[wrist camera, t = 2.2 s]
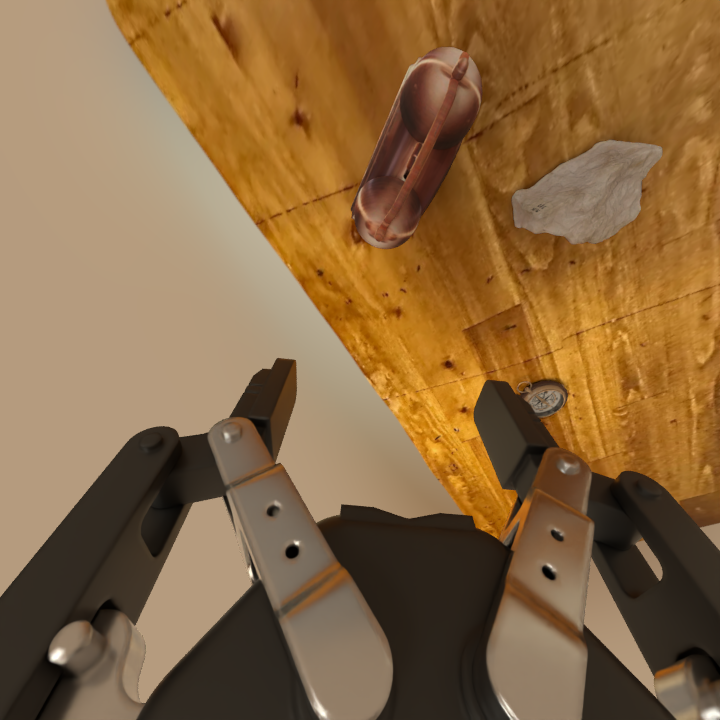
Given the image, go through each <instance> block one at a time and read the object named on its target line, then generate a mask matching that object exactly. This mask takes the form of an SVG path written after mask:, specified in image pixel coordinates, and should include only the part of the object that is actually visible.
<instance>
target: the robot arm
mask: <svg viewBox="0 0 720 720" xmlns="http://www.w3.org/2000/svg"><path fill="white" fill-rule="evenodd" d="M296 378H297V377H296V360H292V359H281V358H277V359H276V361H275V363H274V365H273V367H272V369H262V370H260V371H259V372H258V373H256V374H255V375H254V376H253V378H252V379H251V381H250V383H249V386H247V388H246V389H245V393H243V395H242V397H241V398H240V400H239V402H238V403H237V405H236V407H235V408H234V410H233V412H232V414H231V415H230V417H229V418H227V419H225V420H222V421H220V422H218V423H217V424H215V425H214V426H213V427H212V428H211V430H210V431H209V432H208V433H204V434H200V435H193V436H186V437H179V435H178V433H177V431H176V430H175V429H173V428H170V427H165V426H163V427H162V426H161V427H153V428H150V429H146V430H144V431H142V432H140V433H138V434H136V435H135V436H133V437H132V438H131V439H130V440H129V441H128V442H127V443H126V444H125V446H124V447H123V448H122V449H121V450H120V452H119V453H118V454H117V455H116V456H115V458H114V459H113V460H112V461H111V463H110V464H109V465H108V466H107V467H106V469H105V470H104V471H103V472H102V474H101V475H100V476H99V477H98V479H97V480H96V481H95V482H94V483H93V485H92V486H91V487H90V488H89V489H88V491H87V492H86V493H85V494H84V496H83V497H82V498H81V499H80V500H79V502H78V503H77V504H76V505H75V506H74V508H73V509H72V510H71V511H70V513H69V514H68V515H67V516H66V518H65V519H64V520H63V521H62V522H61V524H60V525H59V526H58V527H57V528H56V530H55V531H54V532H53V533H52V535H51V536H50V537H49V538H48V540H47V541H46V542H45V543H44V544H43V546H42V547H41V548H40V549H39V550H38V552H37V553H36V554H35V555H34V557H33V558H32V559H31V560H30V562H29V563H28V564H27V565H26V567H25V568H24V569H23V570H22V571H21V572H20V574H19V575H18V576H17V578H16V579H15V580H14V581H13V582H12V584H11V585H10V586H9V587H8V589H7V590H6V591H5V592H4V593H3V595H2V596H1V597H0V720H720V551H719V550H718V548H717V547H716V546H715V545H714V544H713V543H712V542H711V540H710V539H709V538H708V537H707V536H706V535H705V533H704V532H703V531H702V530H701V529H700V528H699V527H698V525H697V524H696V523H695V522H694V521H693V520H692V519H691V517H690V516H689V515H688V514H687V513H686V512H685V511H684V509H683V508H682V507H681V506H680V505H679V504H678V503H677V501H676V500H675V499H674V498H673V497H672V496H671V494H670V493H669V492H668V491H667V490H666V489H665V488H664V487H662V486H661V485H660V484H659V483H657V482H656V481H654V480H652V479H651V478H649V477H647V476H645V475H643V474H640V473H637V472H633V471H624V472H622V473H621V474H620V475H619V476H618V477H617V478H616V479H612V478H609V477H606V476H603V475H600V474H597V473H594V472H591V470H590V468H589V466H588V465H587V464H586V463H585V462H584V461H583V460H582V459H581V458H580V457H578V456H577V455H575V454H574V453H572V452H570V451H568V450H565V449H562V448H559V446H558V445H557V443H556V442H555V441H554V439H553V438H552V436H551V435H550V433H549V432H548V430H547V429H546V427H545V426H544V425H543V423H542V422H540V421H541V420H540V419H539V417H538V416H537V415H536V414H535V411H534V410H533V409H532V407H531V406H530V404H529V403H528V402H527V401H525V400H524V399H523V398H522V397H521V396H519V395H516V394H515V393H514V391H513V390H512V388H511V386H510V385H509V384H508V383H507V382H505V381H495V380H487V381H486V382H485V384H484V386H483V388H482V391H481V393H480V396H479V398H478V401H477V403H476V406H475V409H474V421H475V424H476V426H477V429H478V431H479V434H480V436H481V438H482V441H483V443H484V446H485V448H486V450H487V453H488V455H489V458H490V460H491V462H492V465H493V467H494V470H495V472H496V474H497V477H498V479H499V482H500V484H501V486H502V489H509V490H516V492H517V494H518V495H517V497H516V498H515V500H514V502H513V505H512V507H511V510H510V512H509V515H508V517H507V520H506V523H505V525H504V528H503V530H502V533H501V535H500V538H499V540H498V539H496V538H495V537H493V536H492V535H490V534H488V533H487V532H485V531H482V530H480V529H478V528H476V527H475V524H474V521H473V517H472V516H467V515H455V514H444V513H439V514H433V515H427V516H422V517H417V518H411V519H408V518H404V517H401V516H397V515H395V514H392V513H389V512H386V511H383V510H380V509H377V508H374V507H364V506H353V505H341V513H340V515H336V516H333V517H329V518H326V519H323V520H321V521H319V522H317V523H316V522H315V521H314V519H313V517H312V515H311V514H310V512H309V510H308V508H307V507H306V505H305V503H304V502H303V500H302V498H301V496H300V494H299V493H298V491H297V489H296V487H295V486H294V484H293V482H292V481H291V479H290V477H289V475H288V473H287V472H286V470H285V468H284V467H283V465H282V464H281V463H278V464H275V462H276V459H277V456H278V453H279V450H280V447H281V444H282V441H283V438H284V435H285V432H286V429H287V426H288V423H289V420H290V417H291V414H292V411H293V408H294V404H295V400H296V392H297V381H296V380H297V379H296ZM217 497H222V498H223V501H224V504H225V507H226V510H227V513H228V515H229V518H230V521H231V524H232V527H233V530H234V533H235V536H236V538H237V541H238V545H239V548H240V551H241V555H242V558H243V561H244V564H245V568H246V571H247V573H248V576H249V579H250V582H251V585H252V586H251V587H250V588H249V589H248V590H247V591H246V593H245V594H244V595H243V596H242V597H241V598H240V599H239V600H238V601H237V602H236V603H235V604H234V605H233V606H232V607H231V608H230V609H229V610H228V611H227V612H226V613H225V615H223V616H222V617H221V619H220V620H219V621H218V622H217V623H216V624H215V625H214V626H213V627H212V628H211V629H210V630H209V631H208V632H207V633H206V634H205V635H204V636H203V637H202V638H201V639H200V640H199V642H198V643H197V644H196V645H195V646H194V647H193V648H192V649H191V650H190V651H189V652H188V653H187V654H186V655H185V656H184V657H183V658H182V659H181V660H180V661H179V662H178V663H177V665H176V666H175V667H174V668H173V669H172V670H171V671H170V672H169V673H168V674H167V675H166V676H165V677H164V679H163V680H162V681H161V682H160V683H159V685H158V686H157V687H156V689H155V690H154V691H153V693H152V694H151V696H150V697H149V699H148V700H147V702H146V703H141V702H140V699H139V694H138V682H139V676H140V673H141V669H142V666H143V662H144V659H145V653H146V645H145V641H144V638H143V636H142V635H141V633H140V632H139V631H138V630H137V628H136V627H135V625H136V623H137V621H138V618H139V616H140V614H141V612H142V610H143V608H144V605H145V604H146V601H147V599H148V597H149V595H150V593H151V591H152V589H153V586H154V584H155V582H156V580H157V578H158V576H159V574H160V572H161V569H162V567H163V565H164V563H165V561H166V559H167V557H168V555H169V553H170V551H171V548H172V546H173V544H174V542H175V540H176V538H177V536H178V534H179V531H180V529H181V527H182V525H183V523H184V521H185V519H186V517H187V514H188V512H189V510H190V508H191V506H192V504H193V503H194V502H199V501H203V500H208V499H212V498H217ZM642 537H643V539H644V540H645V542H646V543H647V544H648V546H649V547H650V549H651V550H652V552H653V553H654V555H655V556H656V557H657V559H658V560H659V562H660V564H661V566H662V570H663V576H662V579H661V581H659V580H658V578H657V577H656V575H655V574H654V572H653V571H652V569H651V568H650V566H649V565H648V563H647V562H646V560H645V559H644V557H643V555H642V554H641V552H640V551H639V549H638V548H637V546H636V545H635V544H636V543H637V542H638V541H639V540H640V539H641V538H642ZM591 557H592V559H593V561H594V563H595V565H596V567H597V568H598V570H599V572H600V574H601V576H602V578H603V580H604V582H605V584H606V586H607V587H608V589H609V591H610V593H611V595H612V597H613V599H614V601H615V603H616V605H617V607H618V609H619V610H620V612H621V614H622V616H623V618H624V620H625V622H626V624H627V626H628V628H629V630H630V632H631V633H632V635H633V637H634V639H635V641H636V643H637V645H638V647H639V649H640V651H641V652H642V654H643V656H644V658H645V660H646V662H647V664H648V665H649V668H650V669H651V672H652V674H653V675H654V687H655V692H656V696H657V698H656V697H655V696H654V695H653V694H652V693H651V692H650V691H649V690H648V689H647V688H646V687H645V686H644V685H643V684H642V683H641V682H640V681H639V680H638V679H637V678H636V677H635V676H634V675H633V674H632V673H631V672H630V671H629V670H628V669H627V668H626V667H625V666H624V665H623V664H622V663H621V662H620V661H619V660H618V658H616V656H615V655H614V654H613V653H612V652H611V651H609V649H608V648H607V647H606V646H604V644H603V643H602V642H601V641H600V640H599V639H598V638H597V637H596V636H595V635H594V634H593V633H592V632H591V631H590V630H589V629H588V628H587V627H586V626H585V625H584V614H585V606H586V597H587V588H588V579H589V571H590V562H591Z"/></svg>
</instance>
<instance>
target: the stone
mask: <svg viewBox="0 0 720 720" xmlns="http://www.w3.org/2000/svg"><path fill="white" fill-rule="evenodd" d="M661 156H662V147H660V146H657V145H651V144H644V143H631V142H623V141H615V140H608V141H601V142H599V143H596V144H595V145H594V146H593V147H592V148H591V149H590V150H588V151H587V152H585V153H583V154H581V155H580V156H578V157H576V158H574V159H571V160H569V161H567V162H566V163H562V164H560V165H559V166H558V167H557V168H556V169H555V170H553V171H552V172H551V173H549V174H547V175H545V176H544V177H543V178H542V179H541V180H540V181H538V182H537V183H536V184H535V185H534V186H533V187H531V188H529V189H526V190H524V189H521V190H517V191H516V192H515V193H514V195H513V196H512V205H513V214H514V218H513V219H514V221H515V222H514V223H515V227H517V228H522V227H523V228H526V229H527V230H529V231H531V232H533V233H535V234H538V233H539V234H541V233H550V234H553V235H557V236H565V238H566V239H567V240H568V241H569V242H570V243H571V244H577V243H584V242H589V243H592V244H596V243H599V242H602V241H603V240H604V239H608V238H609V237H611V236H613V235H615V234H616V233H617V232H618V231H619V230H620V229H621V228H622V227H624V226H626V225H627V224H628V223H630V222H631V221H633V220H634V219H635V218H636V217H637V215H638V213H639V212H640V209H641V207H640V198H641V195H642V194H641V186H642V179H644V178H645V177H646V175H647V173H648V171H649V170H650V169H651V167H652V166H653V165H654V164H655V163H656V162H657V161H658V160H659V159H660V158H661Z"/></svg>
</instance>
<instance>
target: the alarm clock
mask: <svg viewBox="0 0 720 720" xmlns="http://www.w3.org/2000/svg"><path fill="white" fill-rule="evenodd" d="M481 100H482V82H481V77H480V74H479V71H478V69H477V66H476V65H475V63H474V62H473V60H472V59H471V58H470V57H469V54H467V53H466V52H464V51H461V50H459V49H456V48H453V47H440V48H437V49H434V50H432V51H430V52H428V53H427V54H426V55H425V56H424V57H423V58H421V57H419V58H418V60H417V61H416V63H415V64H412V65H410V66H409V69H408V71H407V73H406V76H405V78H404V80H403V83H402V85H401V87H400V90H399V92H398V95H397V97H396V99H395V102H394V104H393V106H392V109H391V111H390V114H389V116H388V118H387V121H386V123H385V126H384V128H383V131H382V133H381V135H380V138H379V140H378V143H377V145H376V148H375V150H374V152H373V155H372V157H371V160H370V162H369V165H368V167H367V169H366V172H365V174H364V177H363V179H362V182H361V184H360V187H359V189H358V192H357V194H356V197H355V199H354V202H353V204H352V207H351V211H352V219H354V220H355V225H356V227H357V230H358V232H359V234H360V236H361V237H362V238H363V239H364V240H365V241H366V242H367V243H369V244H371V245H372V246H374V247H377V248H382V249H391V248H395V247H398V246H400V245H402V244H403V243H405V242H406V241H407V240H408V239H409V238H410V236H411V235H412V234H413V233H414V231H415V229H416V227H417V225H418V222H419V220H420V217H421V216H422V215H423V213H424V212H425V210H426V209H427V207H428V206H429V204H430V203H431V201H432V200H433V198H434V196H435V195H436V193H437V191H438V190H439V188H440V186H441V184H442V182H443V181H444V179H445V177H446V175H447V173H448V171H449V169H450V167H451V165H452V163H453V161H454V159H455V157H456V154H457V152H458V150H459V148H460V145H461V142H462V140H463V138H464V137H465V135H466V134H467V133H468V131H469V130H470V128H471V126H472V124H473V122H474V121H475V119H476V117H477V114H478V111H479V108H480V104H481Z"/></svg>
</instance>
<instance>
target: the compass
mask: <svg viewBox="0 0 720 720" xmlns="http://www.w3.org/2000/svg"><path fill="white" fill-rule="evenodd" d="M525 382H526V383H530V382H528V381H524V382H521V383H520V384H522V383H525ZM520 384H519V385H520ZM519 385H518V386H517V390H518V387H519ZM563 386H564V385H563V384H562V385H561V384H560V383H558V382H555V381H541V382H538V383H535V384H533V385H532V384H531V383H530V386H529V387H526V388H525V390H524V391H523V392H521V391H519V390H518V392H521V393H522V394H521V395H520V396H521V397H522V398H523V399H524V400H525V401H527V402H528V403H529V404H530V406H531V407H532V409H533V410H534V411H535V414H536V415H537V416H538V417H539V418H543V417H547V416H550V415H552V414H554V413H556V412H557V411H559V410H560V409H561V408H562V407H563V406H564V405H565V403H566V401H567V397H568V394H567V390H566V389H565V388H564V387H563Z"/></svg>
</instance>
